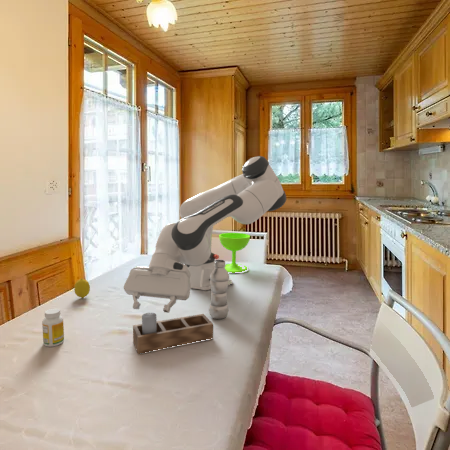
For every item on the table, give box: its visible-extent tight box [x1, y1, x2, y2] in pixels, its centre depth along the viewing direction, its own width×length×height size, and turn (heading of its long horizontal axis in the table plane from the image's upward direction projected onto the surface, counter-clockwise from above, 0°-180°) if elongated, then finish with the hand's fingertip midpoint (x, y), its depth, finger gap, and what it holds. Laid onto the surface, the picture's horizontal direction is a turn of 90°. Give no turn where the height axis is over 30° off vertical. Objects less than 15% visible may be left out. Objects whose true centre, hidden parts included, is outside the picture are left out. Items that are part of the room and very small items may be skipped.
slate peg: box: [141, 312, 157, 335], centre depth 97 cm, size 4×4×8 cm
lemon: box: [73, 277, 91, 299], centre depth 131 cm, size 6×6×8 cm
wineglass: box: [218, 232, 251, 273], centre depth 175 cm, size 16×16×18 cm
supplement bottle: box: [41, 307, 65, 348], centre depth 97 cm, size 5×5×10 cm
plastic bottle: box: [208, 259, 230, 320], centre depth 116 cm, size 6×7×20 cm
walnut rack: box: [132, 313, 214, 355], centre depth 100 cm, size 22×8×5 cm, turn 115°
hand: (150, 310), depth 99 cm, fingers open, 8 cm apart
